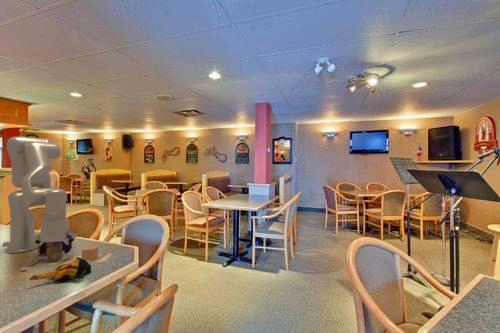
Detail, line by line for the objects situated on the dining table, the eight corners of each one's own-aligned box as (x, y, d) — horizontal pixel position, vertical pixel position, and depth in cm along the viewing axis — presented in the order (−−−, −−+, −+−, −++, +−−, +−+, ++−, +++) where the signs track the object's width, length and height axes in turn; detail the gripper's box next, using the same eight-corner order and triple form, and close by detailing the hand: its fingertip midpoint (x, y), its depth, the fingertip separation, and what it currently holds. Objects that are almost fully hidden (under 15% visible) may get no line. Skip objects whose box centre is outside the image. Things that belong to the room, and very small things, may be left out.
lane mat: (20, 271, 105) (20, 268, 105) (41, 259, 119) (41, 256, 119) (107, 266, 112) (107, 263, 112) (117, 255, 125) (117, 252, 125)
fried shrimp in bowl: (95, 268, 99) (40, 265, 87) (83, 290, 100) (26, 291, 88) (94, 253, 106) (42, 248, 94) (82, 274, 107) (30, 272, 95)
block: (81, 260, 114) (81, 250, 114) (86, 256, 119) (86, 246, 119) (93, 260, 115) (93, 249, 115) (98, 256, 120) (98, 245, 120)
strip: (44, 267, 109) (44, 249, 108) (57, 258, 118) (57, 242, 118) (104, 263, 113) (104, 246, 113) (112, 255, 123) (112, 239, 123)
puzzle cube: (53, 257, 121) (54, 237, 121) (37, 256, 123) (37, 236, 123) (72, 250, 131) (72, 232, 131) (56, 249, 133) (56, 230, 133)
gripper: (28, 218, 108) (28, 257, 108) (72, 217, 112) (72, 255, 112) (39, 215, 116) (38, 251, 116) (80, 214, 119) (80, 249, 119)
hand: (55, 253), depth 114 cm, fingers open, 9 cm apart
